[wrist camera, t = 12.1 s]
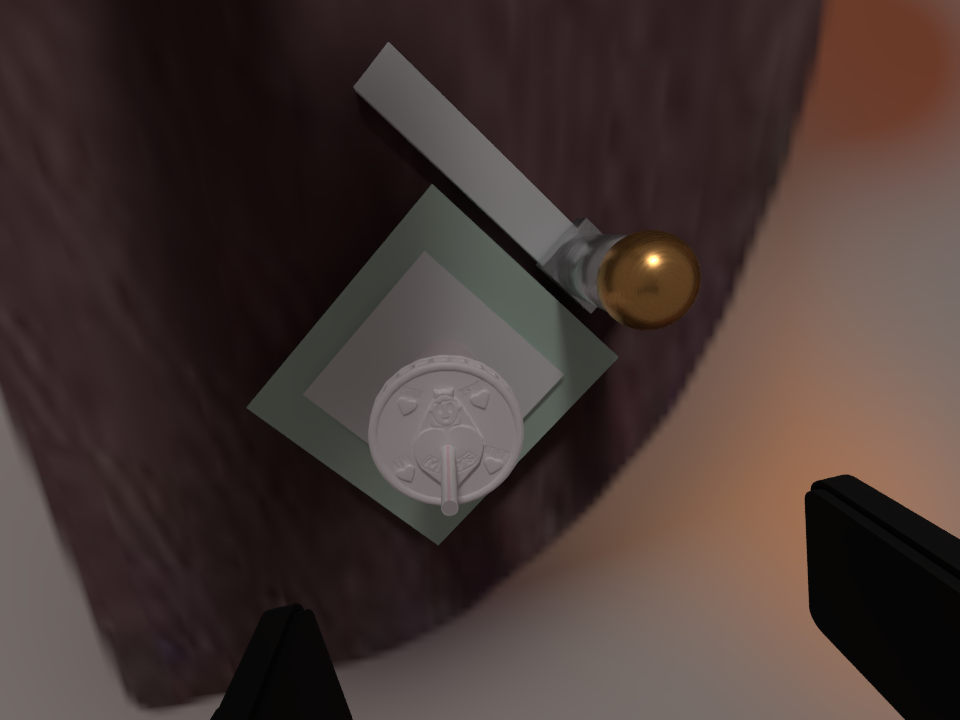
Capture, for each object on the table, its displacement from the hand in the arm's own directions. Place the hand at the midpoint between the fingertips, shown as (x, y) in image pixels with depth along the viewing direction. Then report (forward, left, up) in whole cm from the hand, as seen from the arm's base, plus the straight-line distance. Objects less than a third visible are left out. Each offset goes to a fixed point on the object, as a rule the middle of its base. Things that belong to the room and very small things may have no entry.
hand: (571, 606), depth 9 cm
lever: (+1, +8, -22) cm, 23 cm away
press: (-4, -1, -24) cm, 24 cm away
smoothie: (-1, -2, -21) cm, 21 cm away
